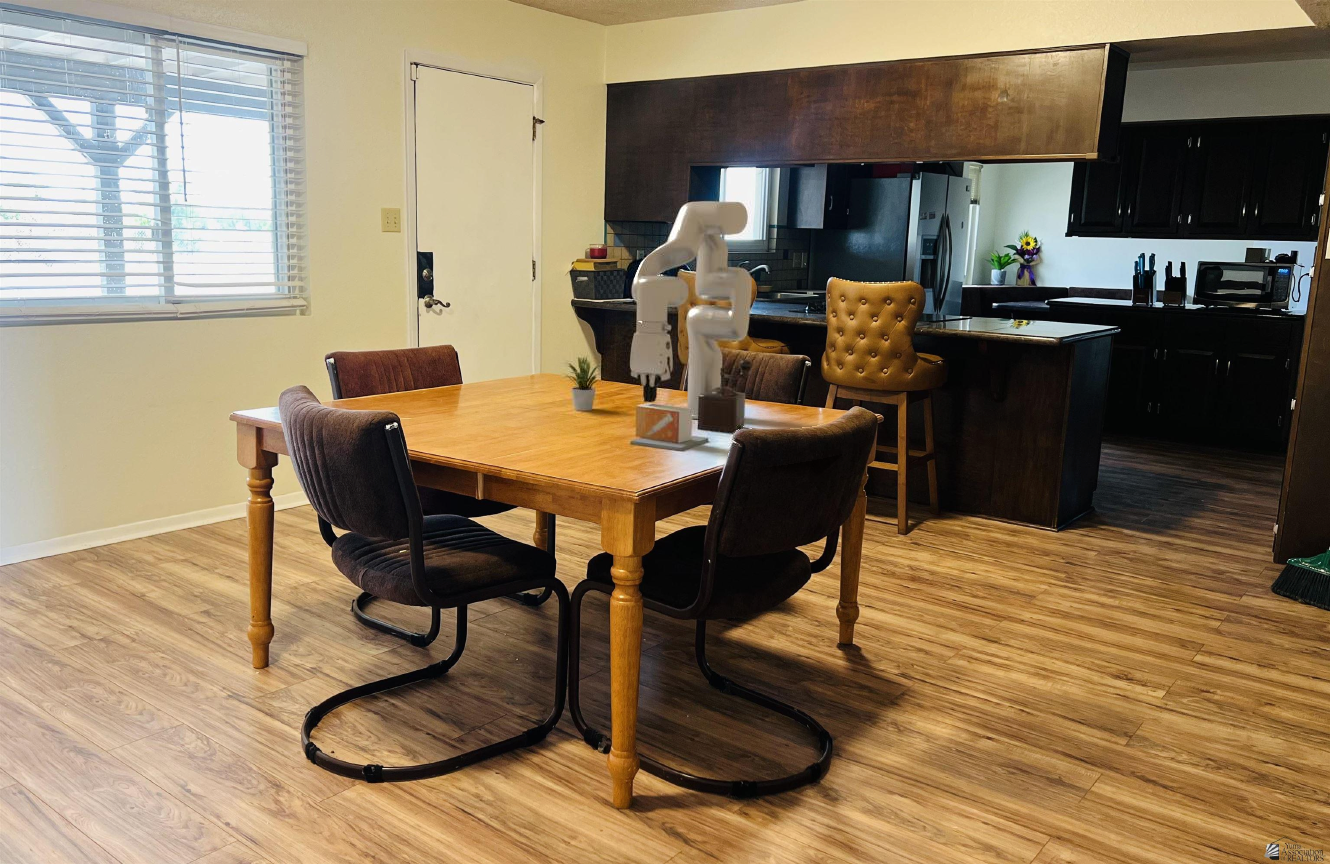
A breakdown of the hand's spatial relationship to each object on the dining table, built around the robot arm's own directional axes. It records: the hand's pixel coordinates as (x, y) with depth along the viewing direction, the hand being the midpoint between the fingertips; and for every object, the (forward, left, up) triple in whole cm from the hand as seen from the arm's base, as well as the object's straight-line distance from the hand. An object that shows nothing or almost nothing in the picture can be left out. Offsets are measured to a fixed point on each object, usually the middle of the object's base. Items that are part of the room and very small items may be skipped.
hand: (649, 401), depth 257 cm
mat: (+1, +7, -10) cm, 12 cm away
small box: (0, -2, -5) cm, 5 cm away
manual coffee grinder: (-27, +9, -10) cm, 30 cm away
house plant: (-27, -38, -10) cm, 48 cm away
